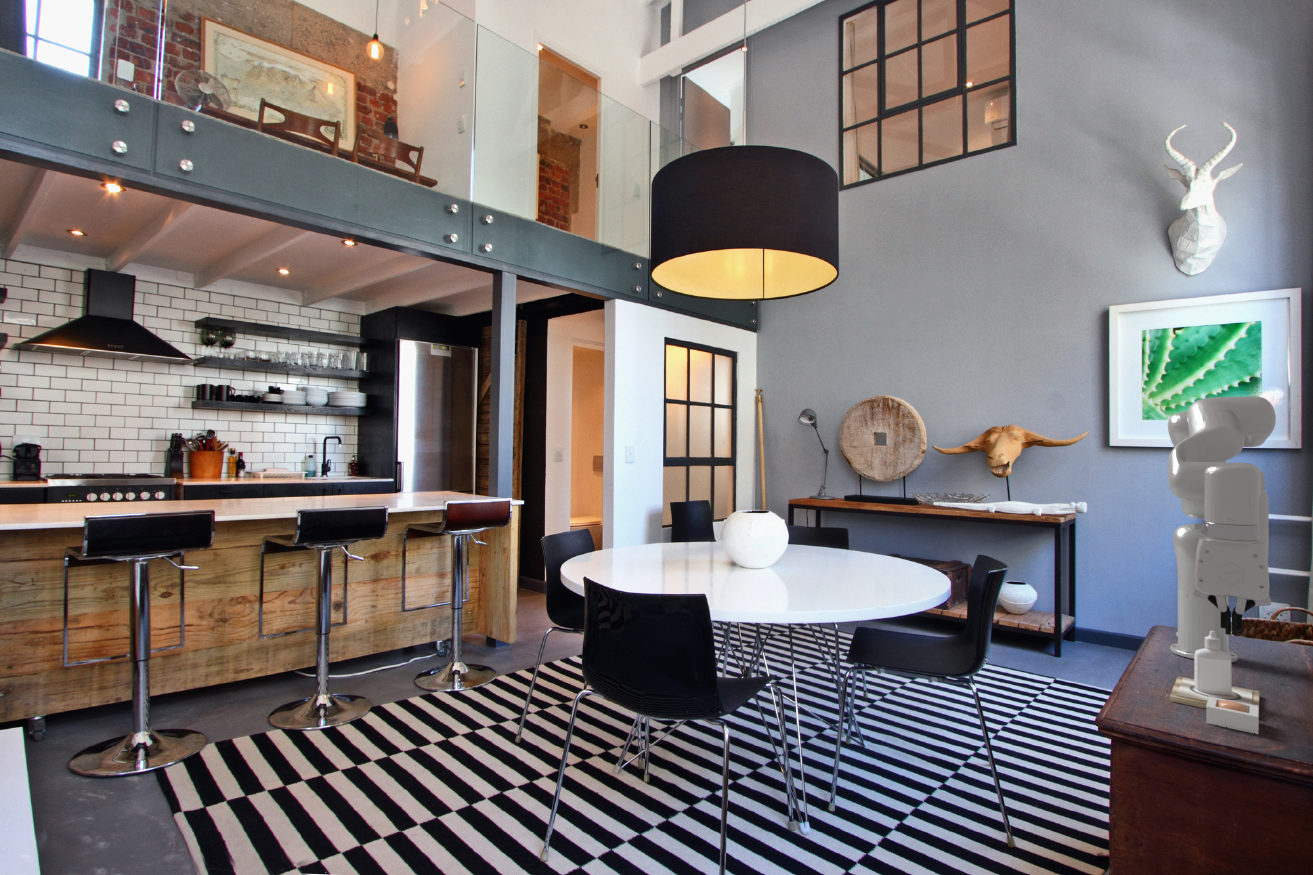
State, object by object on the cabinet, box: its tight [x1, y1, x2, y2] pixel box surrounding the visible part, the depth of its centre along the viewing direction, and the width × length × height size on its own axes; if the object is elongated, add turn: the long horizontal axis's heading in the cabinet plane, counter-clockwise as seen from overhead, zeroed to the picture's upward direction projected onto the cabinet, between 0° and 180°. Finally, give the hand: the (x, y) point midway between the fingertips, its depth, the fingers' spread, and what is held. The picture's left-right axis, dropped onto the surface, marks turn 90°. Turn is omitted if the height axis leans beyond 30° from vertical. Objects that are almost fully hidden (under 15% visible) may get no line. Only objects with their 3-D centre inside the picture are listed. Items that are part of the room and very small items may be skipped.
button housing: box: [1205, 696, 1260, 735], centre depth 122 cm, size 7×7×3 cm
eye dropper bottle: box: [1193, 631, 1233, 695], centre depth 134 cm, size 4×6×12 cm
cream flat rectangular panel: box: [1169, 676, 1260, 709], centre depth 134 cm, size 16×13×1 cm
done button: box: [1219, 700, 1246, 712], centre depth 122 cm, size 4×4×2 cm
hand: (1231, 633), depth 123 cm, fingers closed
